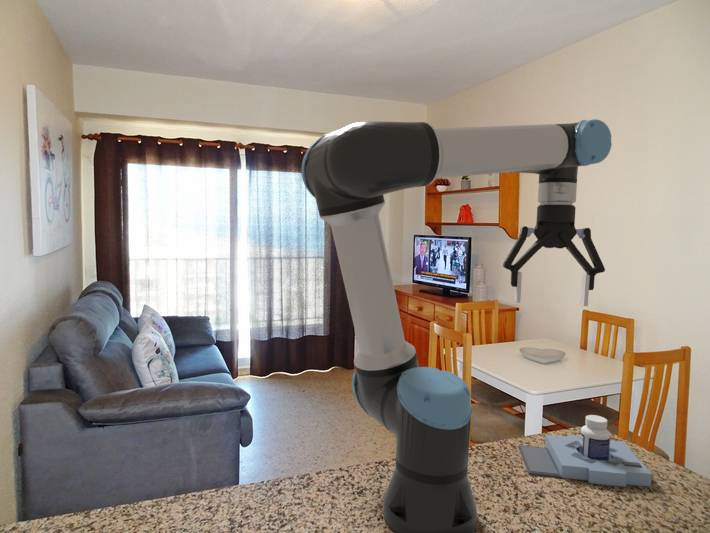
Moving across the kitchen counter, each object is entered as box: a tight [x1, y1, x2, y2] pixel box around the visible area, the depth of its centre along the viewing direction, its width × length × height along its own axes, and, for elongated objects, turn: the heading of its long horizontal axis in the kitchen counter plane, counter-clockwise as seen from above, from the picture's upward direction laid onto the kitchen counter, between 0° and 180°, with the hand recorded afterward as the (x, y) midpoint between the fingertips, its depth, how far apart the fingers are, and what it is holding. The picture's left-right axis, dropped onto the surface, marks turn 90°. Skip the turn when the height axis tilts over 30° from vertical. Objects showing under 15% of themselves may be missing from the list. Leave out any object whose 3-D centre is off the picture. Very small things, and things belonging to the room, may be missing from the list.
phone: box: [517, 444, 562, 479], centre depth 101 cm, size 12×6×1 cm, turn 171°
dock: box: [544, 434, 653, 488], centre depth 100 cm, size 16×16×3 cm
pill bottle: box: [579, 414, 611, 461], centre depth 99 cm, size 5×5×10 cm
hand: (550, 303), depth 105 cm, fingers open, 13 cm apart
